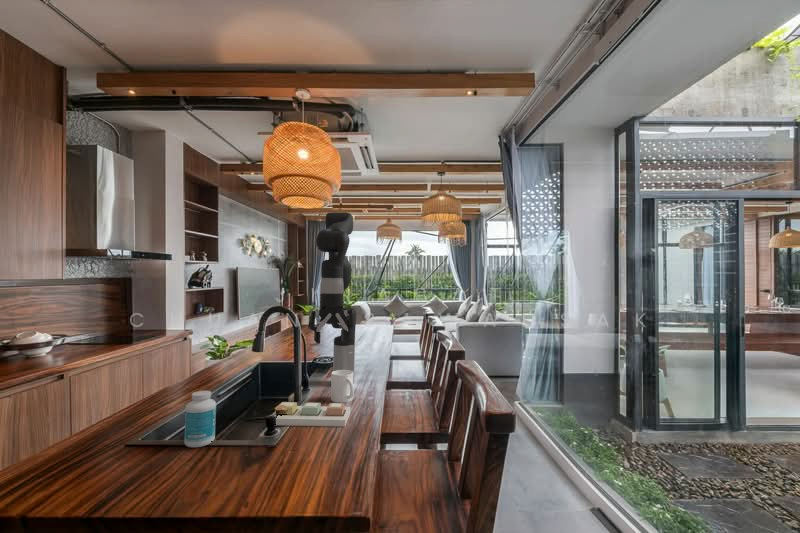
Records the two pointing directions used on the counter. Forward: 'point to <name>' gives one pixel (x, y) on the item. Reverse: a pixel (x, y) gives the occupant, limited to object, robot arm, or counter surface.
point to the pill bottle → (200, 420)
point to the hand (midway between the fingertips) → (330, 342)
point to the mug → (342, 386)
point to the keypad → (313, 418)
